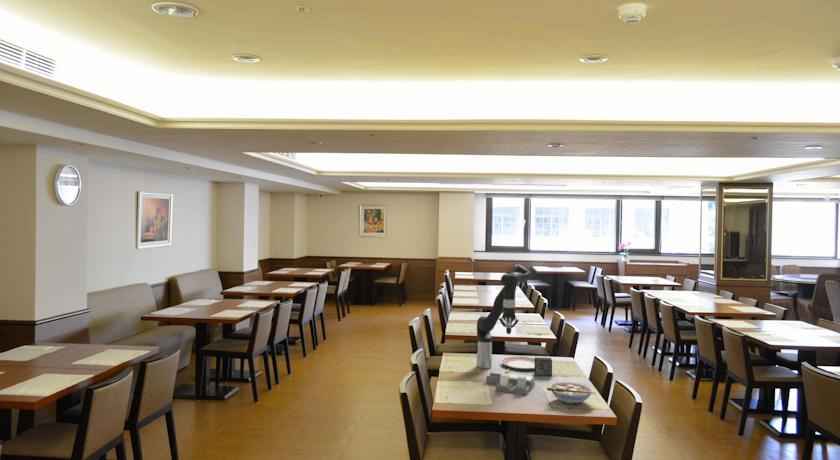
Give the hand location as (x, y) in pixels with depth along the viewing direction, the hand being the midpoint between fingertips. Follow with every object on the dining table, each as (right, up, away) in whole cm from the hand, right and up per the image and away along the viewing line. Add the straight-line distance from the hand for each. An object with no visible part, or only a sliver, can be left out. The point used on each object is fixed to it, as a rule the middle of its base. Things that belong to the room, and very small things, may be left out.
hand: (508, 333), depth 338 cm
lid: (+3, -23, -17) cm, 29 cm away
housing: (-4, -27, -20) cm, 34 cm away
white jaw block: (-7, -26, -25) cm, 37 cm away
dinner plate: (+13, -27, +26) cm, 40 cm away
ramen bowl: (+26, -29, -45) cm, 59 cm away
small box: (+23, -28, +6) cm, 36 cm away
